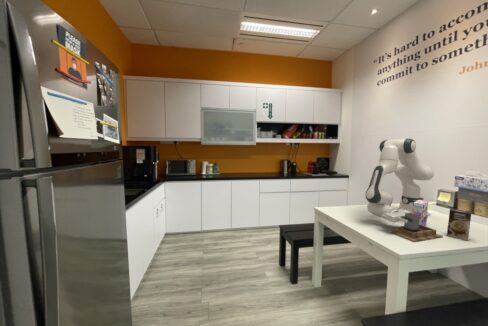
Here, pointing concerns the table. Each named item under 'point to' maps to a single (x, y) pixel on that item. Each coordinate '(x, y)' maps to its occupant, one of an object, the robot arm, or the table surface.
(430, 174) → the robot arm
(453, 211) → the coffee box
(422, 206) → the candy box
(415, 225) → the battery cell
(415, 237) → the walnut cell rack
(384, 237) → the table surface
